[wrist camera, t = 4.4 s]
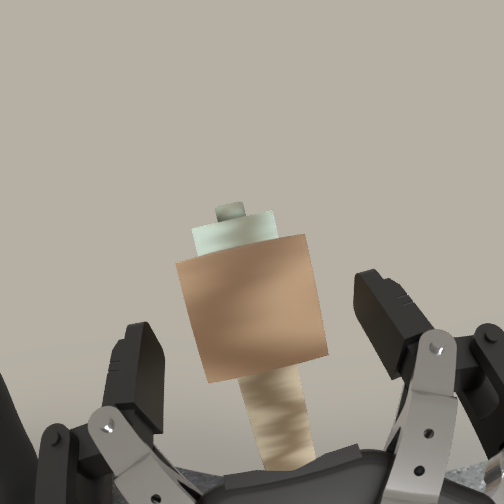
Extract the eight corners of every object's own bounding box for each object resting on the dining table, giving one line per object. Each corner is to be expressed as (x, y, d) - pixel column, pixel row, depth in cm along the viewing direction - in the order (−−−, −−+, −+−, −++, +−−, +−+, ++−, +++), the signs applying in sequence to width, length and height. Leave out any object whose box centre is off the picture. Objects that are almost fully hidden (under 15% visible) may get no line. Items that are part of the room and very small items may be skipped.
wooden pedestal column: (285, 567, 19) (197, 324, 18) (276, 514, 29) (210, 296, 28) (345, 552, 19) (309, 298, 18) (326, 502, 29) (284, 279, 28)
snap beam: (179, 387, 9) (126, 171, 9) (216, 295, 28) (198, 219, 28) (356, 346, 9) (310, 130, 9) (279, 280, 28) (261, 204, 28)
